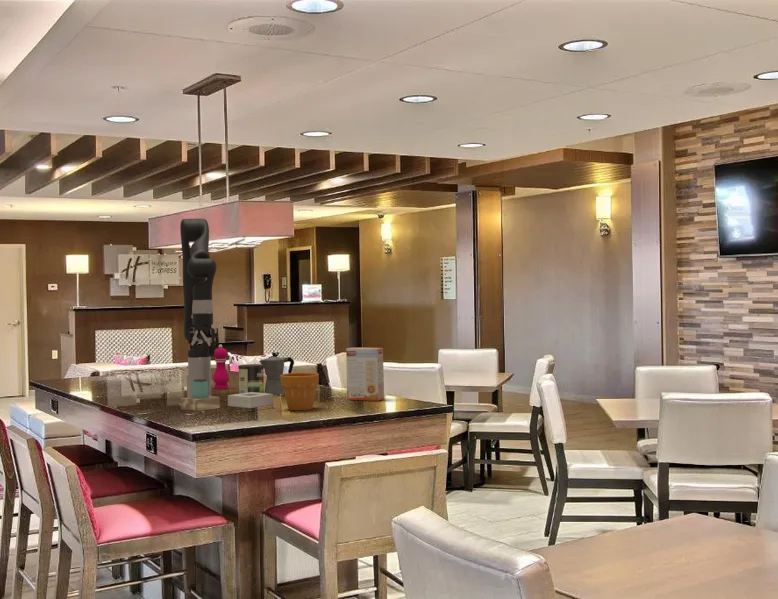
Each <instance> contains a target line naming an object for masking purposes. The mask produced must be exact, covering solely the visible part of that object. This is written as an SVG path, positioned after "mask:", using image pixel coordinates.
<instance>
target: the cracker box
mask: <svg viewBox="0 0 778 599" xmlns="http://www.w3.org/2000/svg"><path fill="white" fill-rule="evenodd" d="M345 351H346V354H345V355H346V358H345V359H346V360H345V361H346V362H345V363H346V399H347V401H367V402H368V401H370V402H378V401H379V402H380V401H383V400H384V399H385V386H384V384H385V381H384V378H385V377H384V375H385V374H384V348H383V347H346V348H345Z"/></svg>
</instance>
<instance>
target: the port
mask: <svg viewBox="0 0 778 599" xmlns="http://www.w3.org/2000/svg"><path fill="white" fill-rule="evenodd" d="M269 406H274V396H273V394H267V393H255V392H248V393H241V394H239V393H234V394H230V395H229V394H228V395H227V407H232V408H244V409H254V408H261V407H269Z"/></svg>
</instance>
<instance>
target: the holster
mask: <svg viewBox="0 0 778 599" xmlns="http://www.w3.org/2000/svg"><path fill="white" fill-rule="evenodd" d="M220 401H221V398H220V396H213V395H211V396H208V398H202V399H196V398H193V397H187V396H186V397H180V410H186V411H194V412H195V411H196V412H201V411H208V410H215V409H220V407H221V402H220Z"/></svg>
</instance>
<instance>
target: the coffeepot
mask: <svg viewBox="0 0 778 599" xmlns="http://www.w3.org/2000/svg"><path fill="white" fill-rule="evenodd" d="M276 354H277V353H276V352H274V351H273V352H272V356H270V357H267V358H264V359H260V360H258V362H259V363H260V364H262V365H264V367H263V368H264V372H265V376H266V380H265V384H264V393H267V394H273V395H280V394H285V392H284V388H283V386H282V385H281V375H282V374H284V367H285V363H288V362H289V367H288V370H287V373H293V372H292V371H293V368H294V365H295V360H294V359H293V358H292V357H291V356H288V357H279V356H276Z"/></svg>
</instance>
